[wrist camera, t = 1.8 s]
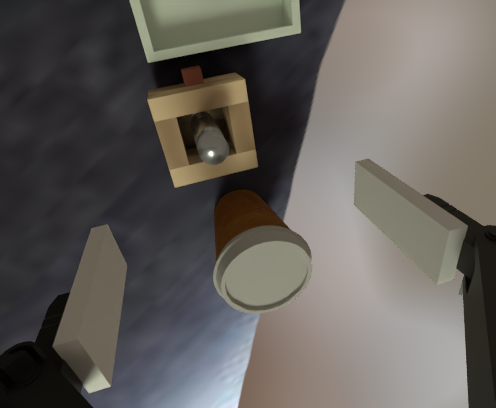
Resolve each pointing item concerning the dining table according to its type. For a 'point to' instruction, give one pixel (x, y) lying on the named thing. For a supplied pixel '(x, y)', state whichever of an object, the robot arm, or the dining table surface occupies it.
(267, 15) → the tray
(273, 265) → the disposable coffee cup
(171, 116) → the wooden square frame
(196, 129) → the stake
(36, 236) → the dining table surface
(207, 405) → the dining table surface
